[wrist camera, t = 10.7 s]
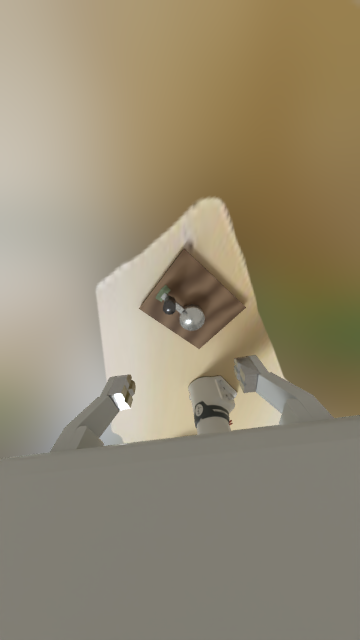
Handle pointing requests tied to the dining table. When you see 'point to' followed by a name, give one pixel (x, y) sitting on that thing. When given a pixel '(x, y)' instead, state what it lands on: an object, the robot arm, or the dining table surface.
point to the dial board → (193, 299)
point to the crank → (184, 313)
